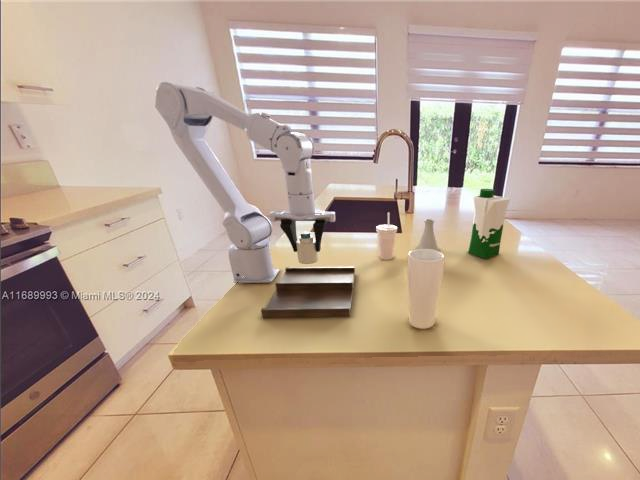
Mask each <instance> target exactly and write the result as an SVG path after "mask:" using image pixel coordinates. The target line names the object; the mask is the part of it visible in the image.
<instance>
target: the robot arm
mask: <svg viewBox="0 0 640 480" xmlns="http://www.w3.org/2000/svg"><path fill="white" fill-rule="evenodd" d="M154 94H155V96H154V97H155V98H154V102H155V103H154V104H155V105H154V107H155V109H156V110H157V112H158V113H159V114H160V116H161V117H162V119H163V120H164V122H165V123H166V125H167V127H168V128H169V131H170V133H171V136H172V138H173V140H174V142H175V144H176V145H177V147H178V148H179V150H180V151H181V153H182V154H183V156H184V157H185V158H186V159H187V161H188V162H189V164H190V165H191V167H192V168H193V169H194V171H195V173H196V174H197V175H198V177H199V178H200V180H201V181H202V182H203V184H204V185H205V187H206V189H207V190H208V191H209V192H210V193H211V195H212V197H213V198H214V199H215V200H216V203H218V205H219V207H220V208H221V209H222V210H223V212H224V216H223V220H222V223H221V224H222V225H223V227H224V228H225V230H226V233H227V236H228V237H227V238H228V239H229V241H230V242H231V243H232V244H231V245H230V247H229V249H228V260H229V264H230V269H231V272H232V277H233V283H234V284H256V283H257V284H261V283H262V284H263V283H264V284H265V283H266V284H267V283H268V284H270V283H272V282H273V281H274V279H275V278H276V276H277V275H278V274H279V272H280V269H279V268H274V264H273V263H274V262H273V258H272V251H271V246H270V241H271V240H270V237H271V236H272V234H273V231H274V230H273V229H274V228H273V224H272V222H273V223H274V222H280V225H279V226H280V229H281V230H282V231H283V233H284V234H285V236H286V238H287V239H288V241H289V243H290V245H291V247H292V251H293V252H294V253H297V247H296V241H297V240H298V237H297V222H313V224H312V227H313V234H314V239H315V240H316V252H318V253H320V252H321V247H322V246H321V245H322V239H323V234H324V231H325V227H326V225H327V222H330V223H335V222H336V212H335V211H327V210H316V205H315V194H314V185H313V174H312V173H313V172H312V165H311V158H312V157H313V155H314V152H315V148H314V143H313V141H312V139H311V138H310V137H309V136H308V135H307V134H305V132H303V131H294V132H293V130H292V127H291V126H290V125H288V124H284V125H283V124H281V123H279V122H277V121H275V120H274V119H272V118H271V114H269V113H267V112H255V113H252V114H249V113H247V112H246V111H244V110H242V109H240V108H239V107H237V106H236V105H234V104H232V103H231V102H229V101H227V100H226V99H224V98H222V97H220V96H218V95H217V94H215V93H214V92H212V91H209V90H206V89H204V88H202V87H200V86H199V87H198V86H197V87H193V86H189V85H188V86H187V85H182V84H175V83H171V82H168V81H162V82H160V83H158V84H157V86H156V88H155V93H154ZM214 117H215V118H217V119H219V120H221V121H223V122H226V123H228V124H230V125H232V126H234V127H236V128H238V129H241V130H242V131H245V134H246V137H247V138H248V140H250V141H251V142H253V143H255V144H257V145H259V146H261V147H263V148H264V149H267V150H268V151H270V152H272V153H274V154H275V155H276V156H277V158H278V159H279V161H280V162H281V165H282V169H283V176H284V181H285V182H284V183H285V189H286V196H287V202H288V203H287V205H288V210H277V211H274V210H273V211H270V212H269V213H268V215H269V218H268V217H267V216H266V215H264V214H263V213H262V212H261V211H260V209H259V208H258V207H257V206H255V205H252V204H250V203H248V202H247V201H246V199H245V198H244V196H243V195H242V193H241V192H240V190H239V189H238V188H237V186H236V184H235V183H234V182H233V180H232V178H231V177H230V176H229V174H228V173H227V171H226V170H225V168H224V166H223V165H222V163H221V162H220V161H219V159H218V157H217V156H216V155H215V153H214V151H213V150H212V148H211V146H209V144H208V143H207V141H206V140H205V139H206V135H207V133H208V131H209V129H210V126H211V124H212V121H213V119H214ZM243 276H244V277H243ZM242 277H243V278H242ZM237 282H238V283H237Z"/></svg>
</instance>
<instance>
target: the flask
mask: <svg viewBox="0 0 640 480" xmlns="http://www.w3.org/2000/svg"><path fill="white" fill-rule="evenodd" d="M434 223H435V220H434V219H429V218H428V219H424V229H423V233H422V236H421V238H420V240H419V242H418V245H417V248H416V250H417V249H432V250H436V251H439V246H438V242H437V239H436V234H435V229H434Z"/></svg>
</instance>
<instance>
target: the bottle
mask: <svg viewBox="0 0 640 480" xmlns="http://www.w3.org/2000/svg"><path fill="white" fill-rule="evenodd" d="M313 237H314V236H313V235H311V232H309V231H302V232H300V236H298V239H297V241H296V247H297V252H296V253H297V261H298V263H299V264H302V265H311V264H315V263H318V262H319V252H316V240H315V238H313Z"/></svg>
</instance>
